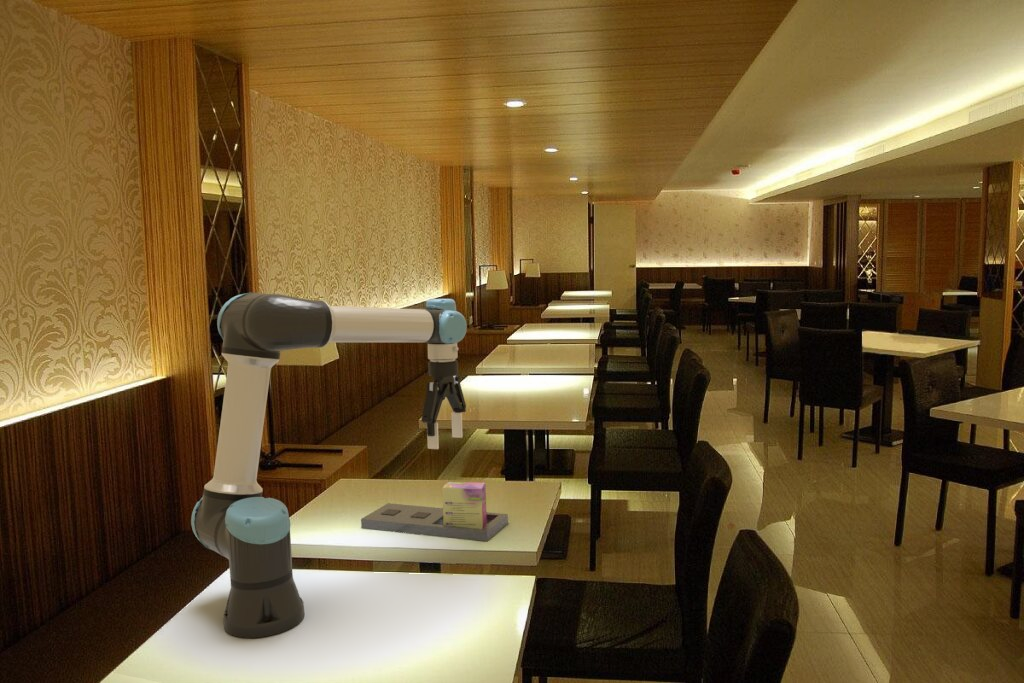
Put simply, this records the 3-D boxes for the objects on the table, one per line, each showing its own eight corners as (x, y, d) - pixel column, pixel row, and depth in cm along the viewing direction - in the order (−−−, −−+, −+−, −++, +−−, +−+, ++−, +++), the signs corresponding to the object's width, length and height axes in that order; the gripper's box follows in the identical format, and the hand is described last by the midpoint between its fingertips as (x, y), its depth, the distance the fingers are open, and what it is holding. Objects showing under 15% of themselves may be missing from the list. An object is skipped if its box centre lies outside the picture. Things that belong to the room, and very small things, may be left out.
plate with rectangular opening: (487, 541, 197) (486, 531, 197) (361, 528, 210) (361, 518, 210) (508, 523, 210) (507, 513, 210) (388, 511, 223) (388, 502, 223)
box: (487, 525, 209) (485, 481, 208) (483, 533, 203) (481, 488, 202) (448, 525, 210) (446, 481, 209) (443, 532, 205) (441, 487, 204)
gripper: (433, 366, 188) (436, 454, 190) (477, 354, 211) (479, 433, 213) (405, 365, 191) (408, 452, 193) (451, 354, 214) (454, 432, 216)
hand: (445, 442), depth 203 cm, fingers open, 13 cm apart
